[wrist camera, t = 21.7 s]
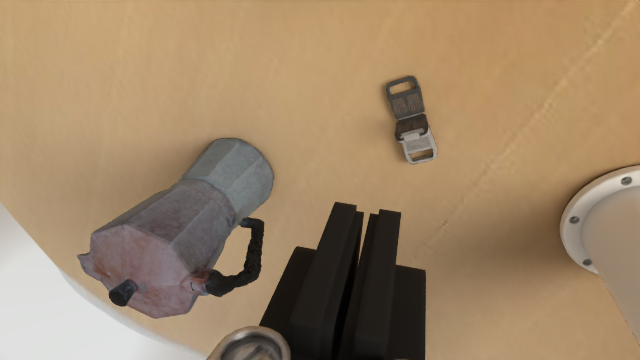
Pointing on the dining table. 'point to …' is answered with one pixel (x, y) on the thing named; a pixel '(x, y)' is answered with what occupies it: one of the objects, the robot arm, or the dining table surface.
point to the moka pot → (184, 234)
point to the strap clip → (411, 121)
